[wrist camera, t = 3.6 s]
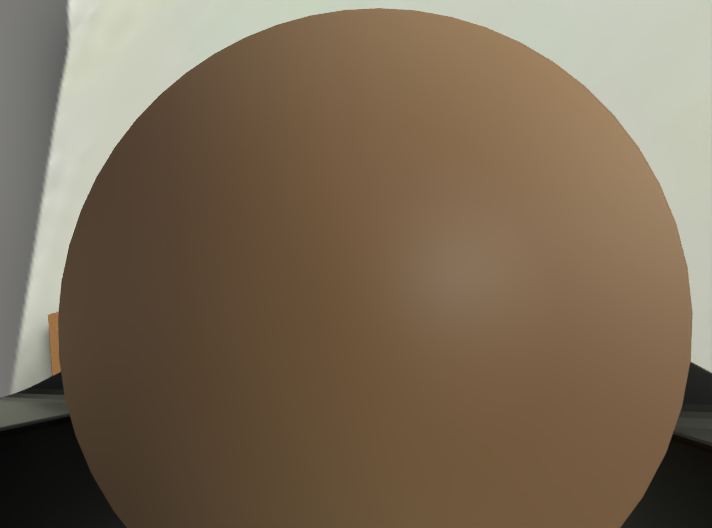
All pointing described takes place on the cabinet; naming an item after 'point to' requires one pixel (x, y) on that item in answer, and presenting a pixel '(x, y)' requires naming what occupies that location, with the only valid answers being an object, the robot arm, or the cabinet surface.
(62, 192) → the cabinet surface
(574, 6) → the cabinet surface
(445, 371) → the post
